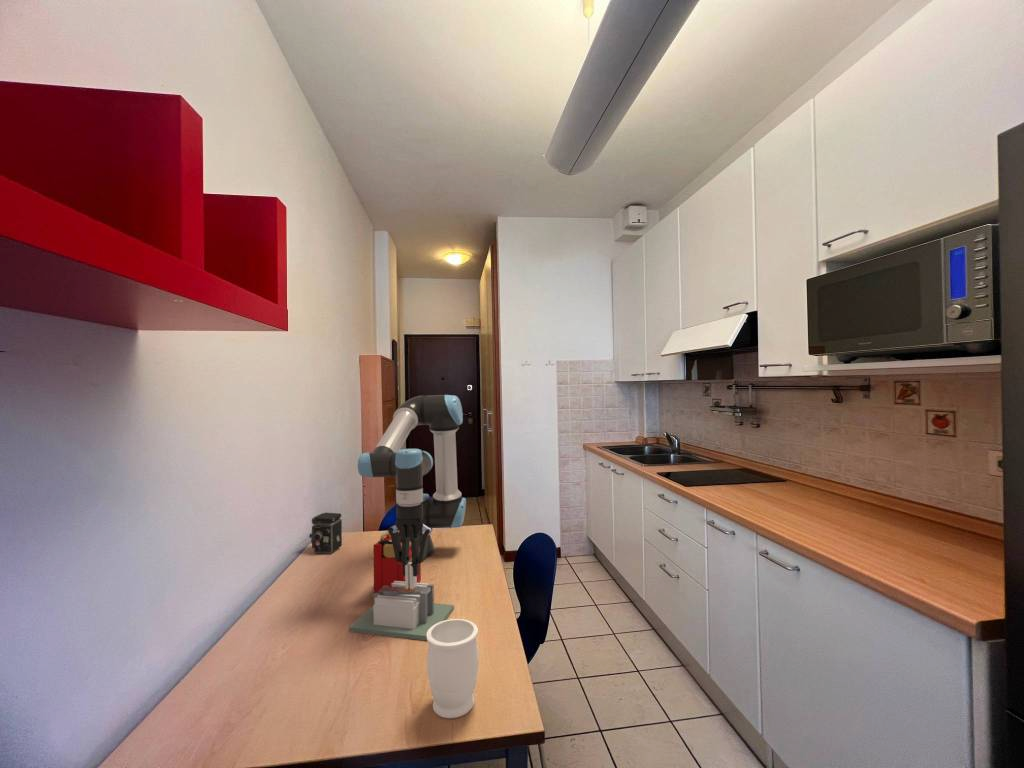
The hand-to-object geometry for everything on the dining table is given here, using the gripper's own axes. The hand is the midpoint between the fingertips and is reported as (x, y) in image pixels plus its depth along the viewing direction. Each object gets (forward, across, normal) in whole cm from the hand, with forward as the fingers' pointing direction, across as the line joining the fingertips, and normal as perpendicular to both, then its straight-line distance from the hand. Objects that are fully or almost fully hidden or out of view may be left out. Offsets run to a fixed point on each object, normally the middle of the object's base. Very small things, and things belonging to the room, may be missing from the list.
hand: (411, 587), depth 122 cm
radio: (+10, -13, +16) cm, 23 cm away
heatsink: (+10, -3, 0) cm, 10 cm away
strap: (+3, -2, 0) cm, 4 cm away
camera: (+9, -61, +45) cm, 77 cm away
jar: (+10, +23, -29) cm, 38 cm away
